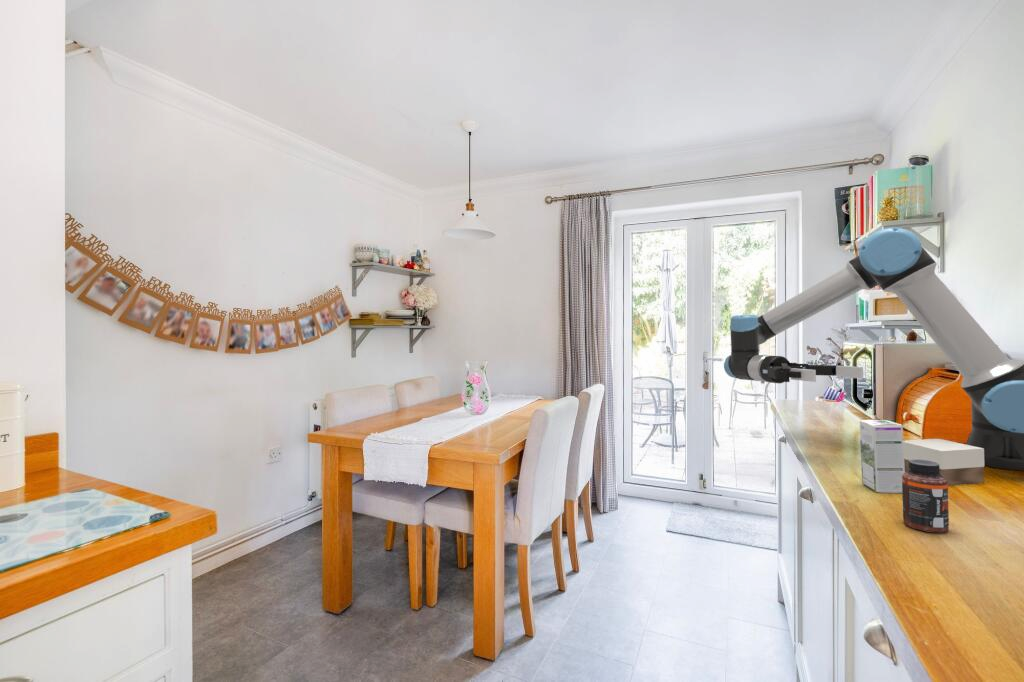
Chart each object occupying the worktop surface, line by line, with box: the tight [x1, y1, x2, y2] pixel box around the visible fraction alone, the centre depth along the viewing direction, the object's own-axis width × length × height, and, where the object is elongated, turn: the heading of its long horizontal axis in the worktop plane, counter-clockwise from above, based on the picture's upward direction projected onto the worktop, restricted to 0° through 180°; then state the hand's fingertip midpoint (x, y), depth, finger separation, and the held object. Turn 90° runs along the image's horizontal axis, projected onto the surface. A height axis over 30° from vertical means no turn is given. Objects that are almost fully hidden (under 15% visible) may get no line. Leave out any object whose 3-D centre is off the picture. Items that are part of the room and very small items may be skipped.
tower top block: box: [903, 438, 985, 470], centre depth 105 cm, size 10×10×4 cm
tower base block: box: [904, 459, 985, 486], centre depth 106 cm, size 10×10×4 cm
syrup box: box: [859, 419, 905, 494], centre depth 100 cm, size 6×6×14 cm
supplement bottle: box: [901, 460, 950, 534], centre depth 80 cm, size 6×6×11 cm
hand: (838, 374), depth 109 cm, fingers open, 13 cm apart
